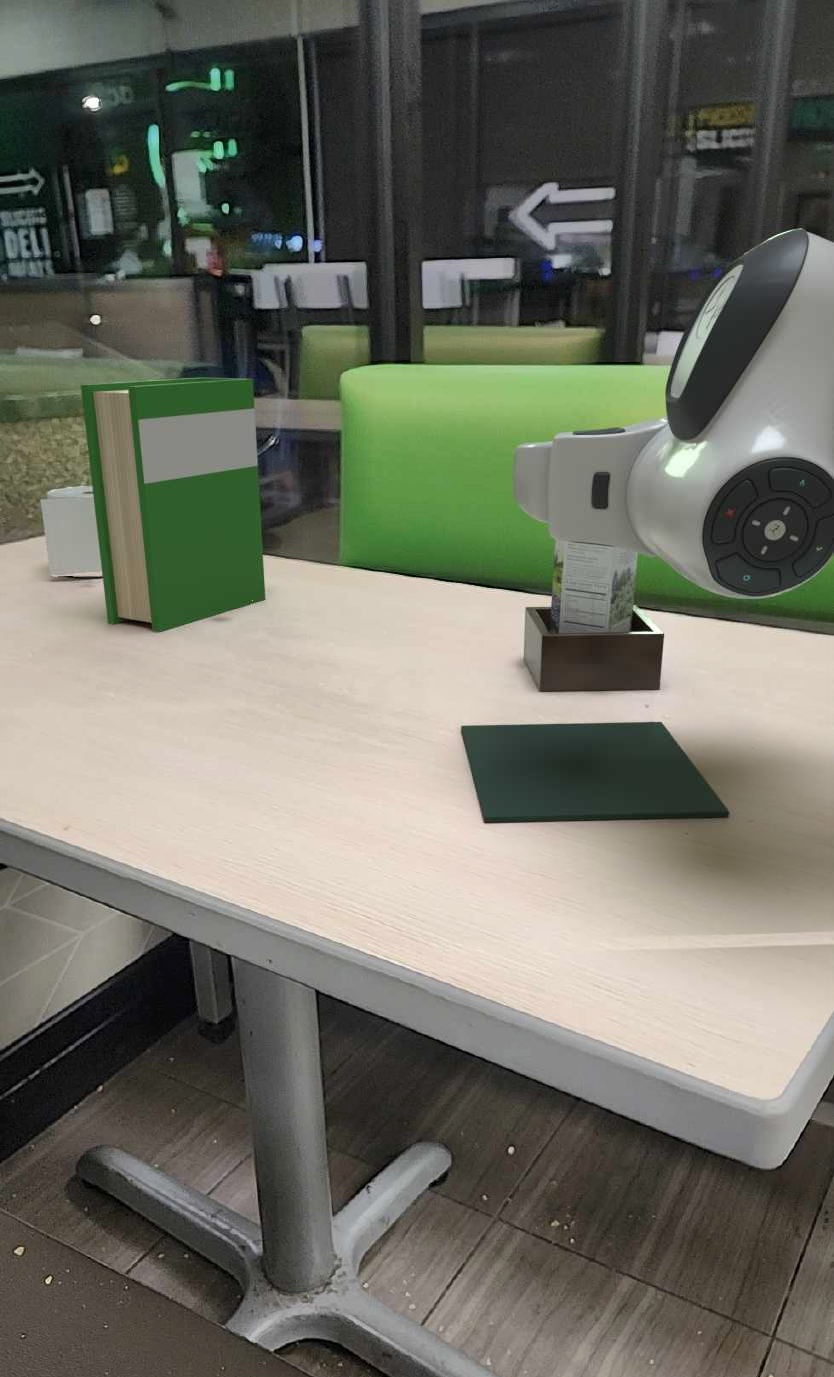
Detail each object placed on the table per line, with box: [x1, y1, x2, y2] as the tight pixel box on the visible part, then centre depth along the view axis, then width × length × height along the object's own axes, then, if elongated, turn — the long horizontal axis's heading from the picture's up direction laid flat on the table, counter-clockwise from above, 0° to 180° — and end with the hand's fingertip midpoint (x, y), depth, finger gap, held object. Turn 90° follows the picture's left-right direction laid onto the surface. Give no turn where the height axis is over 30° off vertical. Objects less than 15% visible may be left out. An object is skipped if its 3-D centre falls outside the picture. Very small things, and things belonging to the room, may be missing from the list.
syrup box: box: [550, 539, 639, 633], centre depth 101 cm, size 6×6×14 cm
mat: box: [460, 721, 730, 823], centre depth 81 cm, size 16×18×1 cm
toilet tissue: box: [39, 485, 103, 578], centre depth 145 cm, size 11×12×10 cm
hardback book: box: [80, 377, 266, 633], centre depth 122 cm, size 18×7×24 cm, turn 148°
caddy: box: [523, 604, 665, 692], centre depth 102 cm, size 11×11×5 cm
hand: (640, 463), depth 83 cm, fingers open, 8 cm apart
